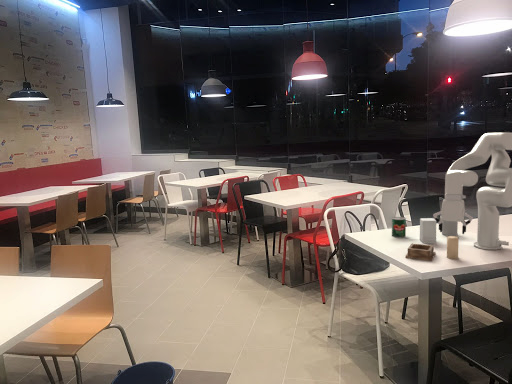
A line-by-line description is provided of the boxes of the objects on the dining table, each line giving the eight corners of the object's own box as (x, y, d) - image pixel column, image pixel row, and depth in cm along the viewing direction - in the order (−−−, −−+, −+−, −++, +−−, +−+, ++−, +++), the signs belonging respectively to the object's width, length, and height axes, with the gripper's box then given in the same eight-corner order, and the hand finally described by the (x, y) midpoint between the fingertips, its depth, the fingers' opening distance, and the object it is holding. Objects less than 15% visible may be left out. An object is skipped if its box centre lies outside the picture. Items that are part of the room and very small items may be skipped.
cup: (460, 235, 231) (461, 218, 229) (450, 236, 228) (450, 220, 226) (448, 232, 239) (449, 215, 237) (438, 233, 236) (438, 217, 234)
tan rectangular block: (458, 256, 192) (459, 236, 191) (457, 259, 188) (458, 239, 187) (447, 255, 195) (447, 235, 194) (446, 258, 191) (446, 238, 189)
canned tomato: (396, 238, 231) (396, 219, 229) (389, 235, 238) (389, 217, 237) (408, 236, 232) (408, 218, 231) (400, 233, 240) (400, 216, 238)
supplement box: (436, 243, 217) (436, 220, 215) (422, 243, 218) (422, 220, 217) (433, 239, 224) (433, 217, 222) (419, 239, 226) (419, 218, 224)
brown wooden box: (435, 253, 198) (435, 245, 198) (431, 260, 188) (431, 251, 188) (410, 251, 205) (410, 242, 204) (405, 257, 195) (405, 248, 194)
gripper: (474, 197, 186) (472, 232, 188) (434, 195, 195) (433, 229, 197) (473, 199, 180) (471, 236, 182) (432, 197, 189) (431, 232, 191)
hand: (452, 232), depth 189 cm, fingers open, 9 cm apart
